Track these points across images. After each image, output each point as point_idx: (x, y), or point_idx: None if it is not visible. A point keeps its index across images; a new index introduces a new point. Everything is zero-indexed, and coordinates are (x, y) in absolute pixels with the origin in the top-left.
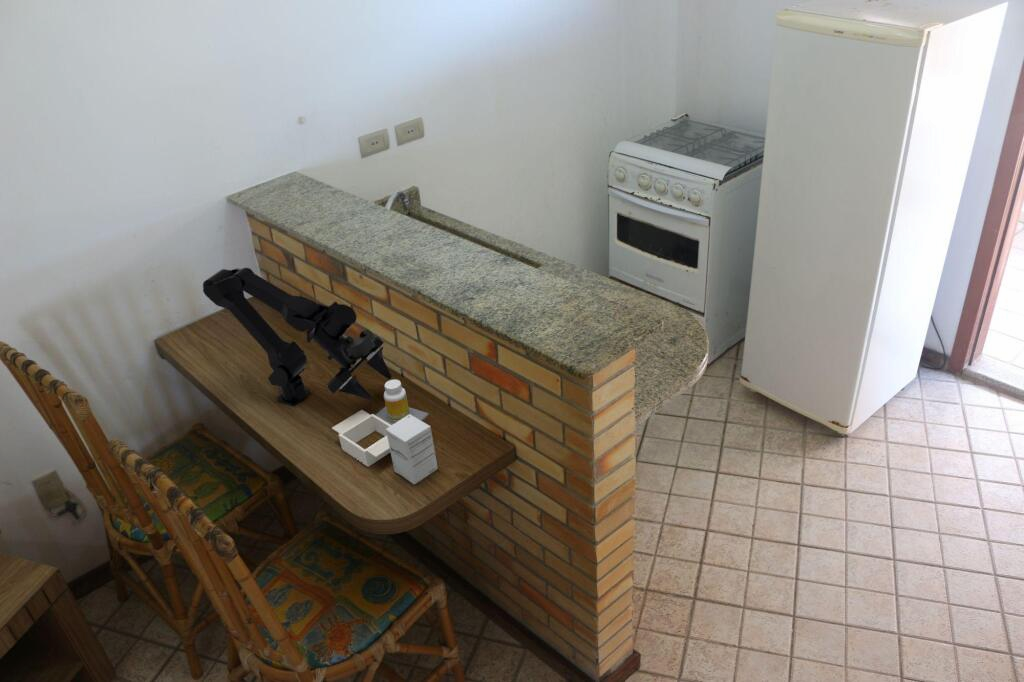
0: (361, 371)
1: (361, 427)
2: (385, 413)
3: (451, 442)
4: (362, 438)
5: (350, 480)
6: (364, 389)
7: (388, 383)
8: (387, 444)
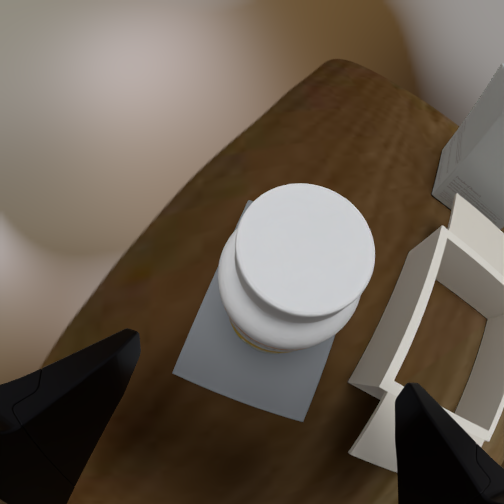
0: None
1: None
2: (261, 374)
3: (358, 129)
4: None
5: None
6: (449, 437)
7: (304, 283)
8: (497, 242)
